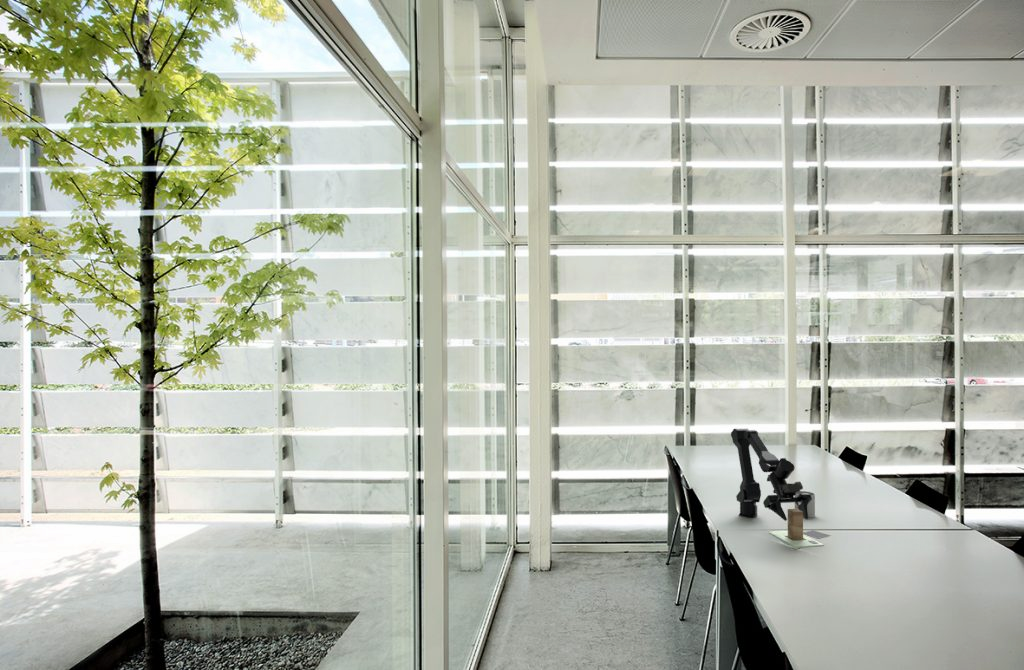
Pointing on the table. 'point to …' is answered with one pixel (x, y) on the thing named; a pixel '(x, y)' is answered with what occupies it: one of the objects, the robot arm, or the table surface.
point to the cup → (810, 505)
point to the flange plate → (795, 544)
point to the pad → (816, 534)
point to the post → (795, 524)
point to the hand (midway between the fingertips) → (796, 519)
